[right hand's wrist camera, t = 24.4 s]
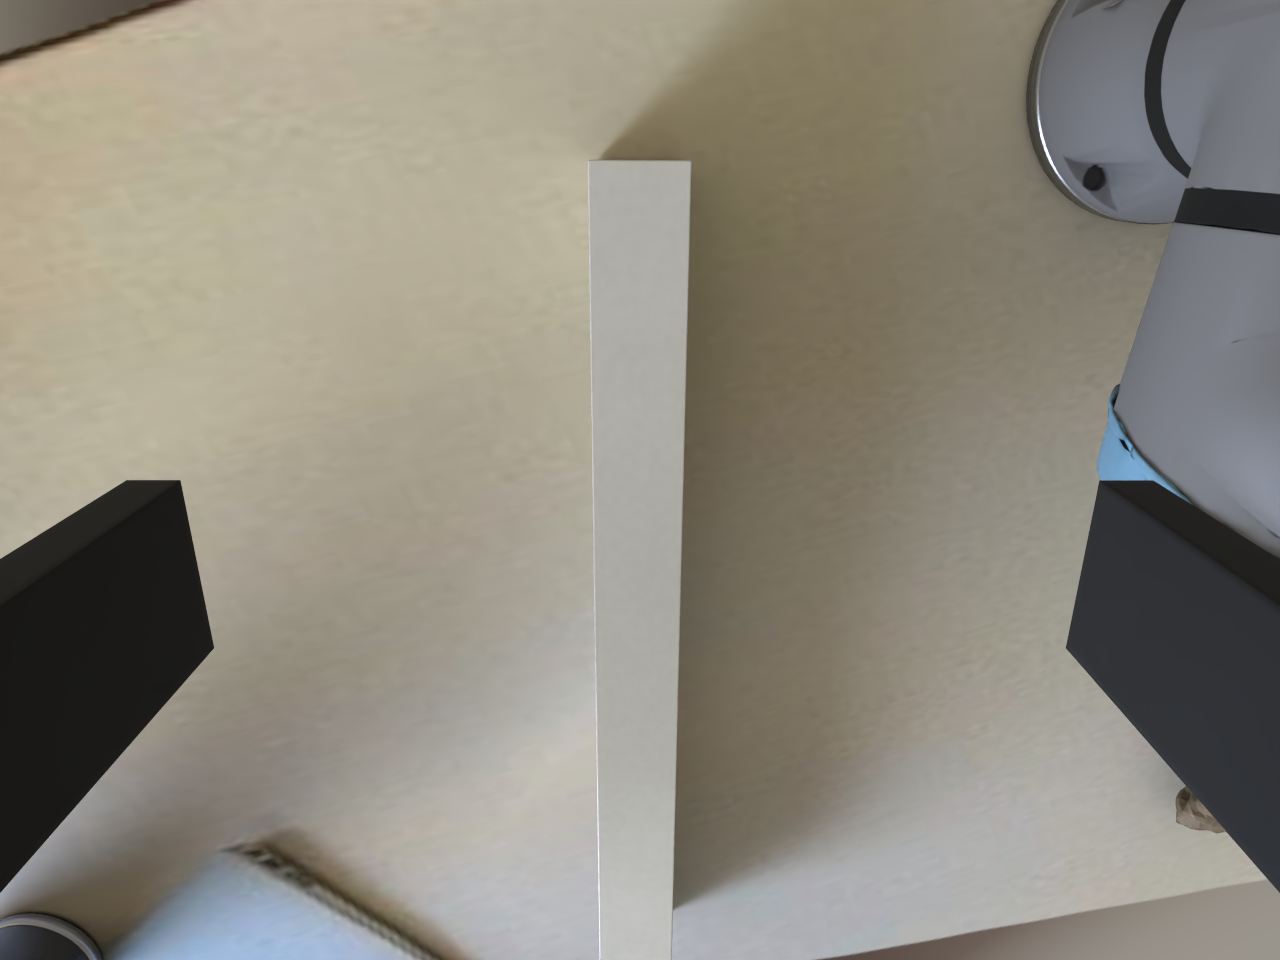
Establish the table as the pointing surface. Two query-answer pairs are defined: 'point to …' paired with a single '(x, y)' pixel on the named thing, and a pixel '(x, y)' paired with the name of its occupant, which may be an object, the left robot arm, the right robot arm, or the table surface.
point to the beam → (637, 535)
